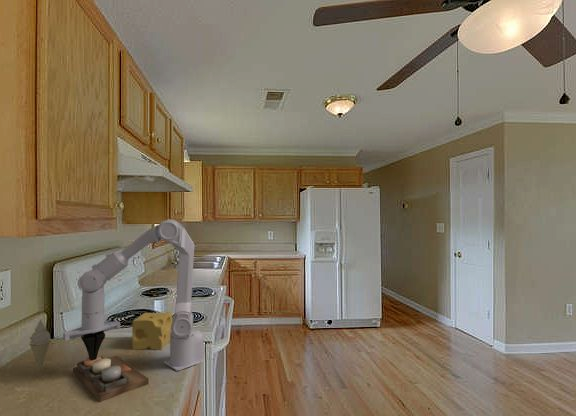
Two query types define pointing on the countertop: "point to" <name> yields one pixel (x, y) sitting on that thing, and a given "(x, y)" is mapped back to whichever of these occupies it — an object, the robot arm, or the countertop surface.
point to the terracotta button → (90, 363)
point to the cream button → (101, 365)
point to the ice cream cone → (40, 344)
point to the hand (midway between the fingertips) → (92, 359)
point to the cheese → (151, 330)
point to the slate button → (111, 373)
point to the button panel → (110, 388)
